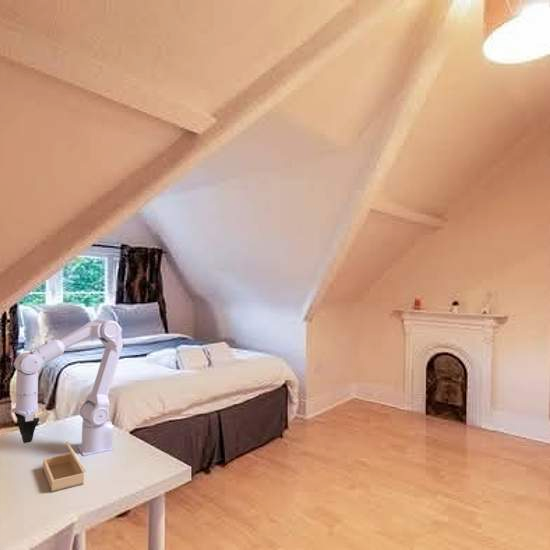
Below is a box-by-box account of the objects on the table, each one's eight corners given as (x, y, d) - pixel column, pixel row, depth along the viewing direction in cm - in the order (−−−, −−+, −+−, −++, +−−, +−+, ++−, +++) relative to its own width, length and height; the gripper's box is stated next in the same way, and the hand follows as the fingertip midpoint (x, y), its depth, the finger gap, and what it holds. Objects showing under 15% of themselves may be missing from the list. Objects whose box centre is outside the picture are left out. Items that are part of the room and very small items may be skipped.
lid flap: (73, 453, 131) (74, 451, 132) (84, 472, 119) (86, 471, 119) (65, 442, 130) (67, 441, 130) (76, 460, 118) (78, 459, 118)
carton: (71, 462, 132) (72, 453, 132) (83, 484, 119) (83, 473, 119) (42, 469, 127) (43, 459, 127) (51, 492, 114) (52, 481, 114)
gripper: (9, 389, 130) (8, 432, 130) (13, 401, 118) (12, 449, 119) (35, 385, 134) (34, 428, 134) (41, 397, 123) (40, 443, 123)
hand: (25, 437), depth 127 cm, fingers open, 7 cm apart
